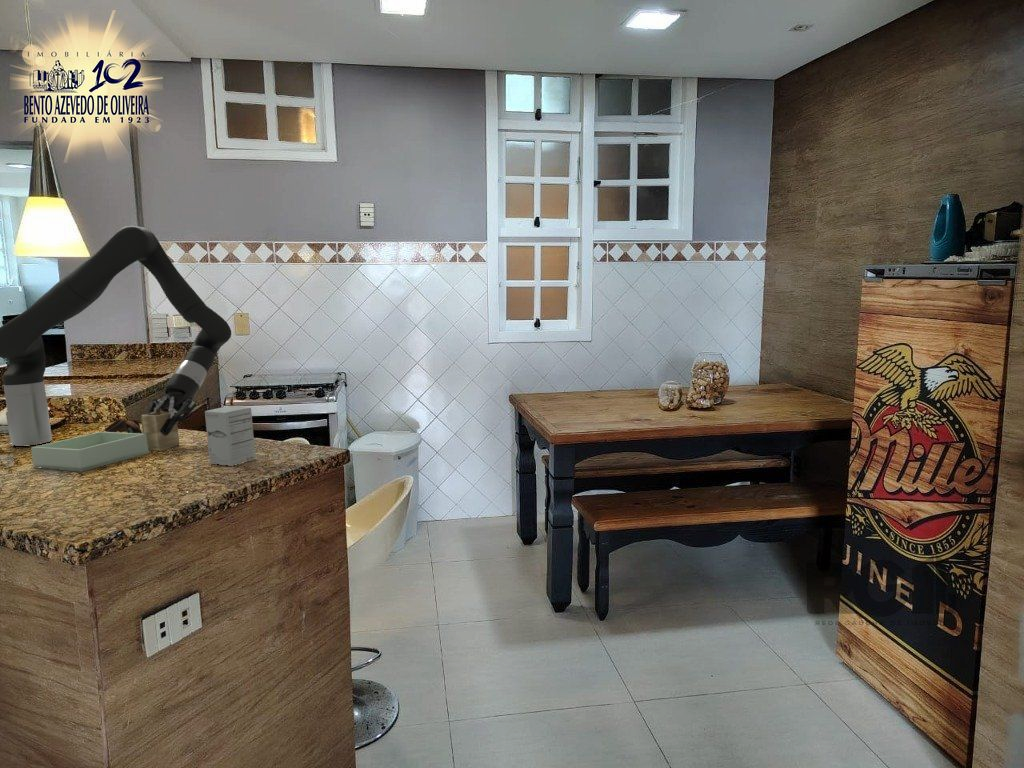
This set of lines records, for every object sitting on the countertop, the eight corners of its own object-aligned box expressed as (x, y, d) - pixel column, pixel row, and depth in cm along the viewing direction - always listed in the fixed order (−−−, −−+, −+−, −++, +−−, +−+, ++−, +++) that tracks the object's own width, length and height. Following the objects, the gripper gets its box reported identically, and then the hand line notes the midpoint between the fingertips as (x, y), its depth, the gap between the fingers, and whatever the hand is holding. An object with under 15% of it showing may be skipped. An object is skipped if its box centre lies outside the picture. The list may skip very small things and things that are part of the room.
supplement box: (208, 464, 157) (203, 410, 156) (235, 457, 164) (229, 405, 162) (231, 467, 154) (225, 412, 152) (257, 459, 160) (251, 406, 159)
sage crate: (33, 468, 162) (30, 447, 161) (103, 450, 178) (100, 431, 178) (81, 471, 156) (78, 450, 155) (148, 453, 173) (146, 433, 172)
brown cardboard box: (144, 449, 177) (140, 415, 176) (164, 444, 183) (160, 411, 181) (160, 450, 175) (156, 416, 174) (179, 445, 181) (175, 411, 179)
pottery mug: (141, 448, 182) (120, 424, 179) (111, 464, 183) (90, 441, 179) (157, 428, 193) (137, 405, 190) (128, 444, 194) (108, 421, 190)
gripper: (157, 372, 186) (124, 424, 176) (198, 372, 181) (165, 426, 171) (175, 388, 191) (144, 440, 182) (215, 389, 186) (185, 442, 177)
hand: (154, 432), depth 177 cm, fingers closed on brown cardboard box, 5 cm apart
